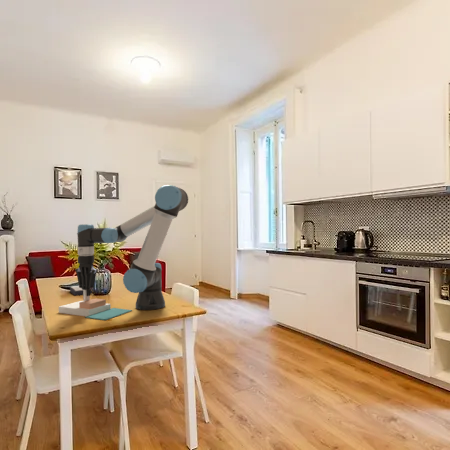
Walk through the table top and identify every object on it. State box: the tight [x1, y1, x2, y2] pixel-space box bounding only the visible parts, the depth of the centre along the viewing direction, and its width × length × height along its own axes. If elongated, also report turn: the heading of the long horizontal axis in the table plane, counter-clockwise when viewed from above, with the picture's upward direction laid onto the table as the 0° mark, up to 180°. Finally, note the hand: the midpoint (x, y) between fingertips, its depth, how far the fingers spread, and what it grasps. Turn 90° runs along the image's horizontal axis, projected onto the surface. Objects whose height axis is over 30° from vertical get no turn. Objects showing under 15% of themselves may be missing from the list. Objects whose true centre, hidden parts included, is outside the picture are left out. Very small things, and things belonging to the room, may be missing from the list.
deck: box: [58, 300, 112, 317], centre depth 163 cm, size 14×20×3 cm
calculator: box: [69, 285, 92, 297], centre depth 212 cm, size 11×4×15 cm
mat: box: [84, 307, 133, 321], centre depth 157 cm, size 18×12×1 cm, turn 156°
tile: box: [79, 298, 107, 309], centre depth 161 cm, size 10×7×2 cm
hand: (86, 302), depth 163 cm, fingers closed
